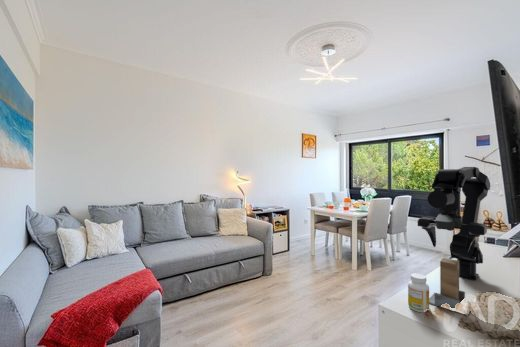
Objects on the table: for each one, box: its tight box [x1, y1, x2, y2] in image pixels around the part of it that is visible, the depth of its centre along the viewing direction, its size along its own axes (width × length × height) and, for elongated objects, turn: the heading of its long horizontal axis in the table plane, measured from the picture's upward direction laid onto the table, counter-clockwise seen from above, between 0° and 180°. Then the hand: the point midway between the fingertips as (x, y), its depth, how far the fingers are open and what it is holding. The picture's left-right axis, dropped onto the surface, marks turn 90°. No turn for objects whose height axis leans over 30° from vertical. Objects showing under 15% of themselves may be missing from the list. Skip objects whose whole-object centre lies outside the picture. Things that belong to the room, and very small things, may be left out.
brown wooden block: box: [439, 257, 460, 299], centre depth 78 cm, size 4×4×13 cm
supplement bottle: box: [407, 272, 430, 313], centre depth 76 cm, size 5×5×10 cm
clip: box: [429, 289, 466, 308], centre depth 78 cm, size 8×10×4 cm
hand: (450, 249), depth 89 cm, fingers open, 9 cm apart
